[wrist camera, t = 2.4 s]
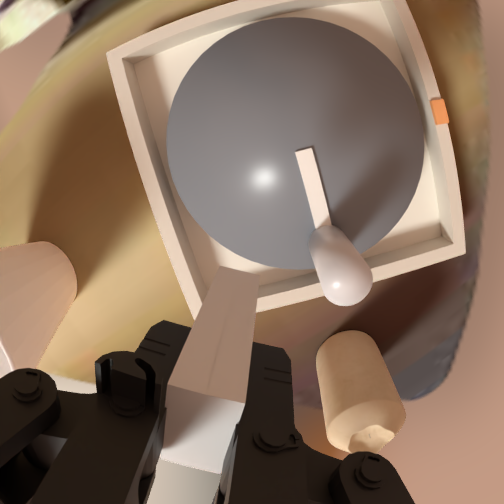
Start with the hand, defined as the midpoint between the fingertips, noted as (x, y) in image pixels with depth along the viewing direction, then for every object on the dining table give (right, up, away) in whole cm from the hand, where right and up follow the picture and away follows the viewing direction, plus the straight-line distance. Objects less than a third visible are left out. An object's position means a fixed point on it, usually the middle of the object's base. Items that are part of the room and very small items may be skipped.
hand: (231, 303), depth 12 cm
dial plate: (+4, +9, +9) cm, 14 cm away
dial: (+4, +9, +8) cm, 13 cm away
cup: (-18, 0, +14) cm, 23 cm away
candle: (+9, -7, +14) cm, 18 cm away
